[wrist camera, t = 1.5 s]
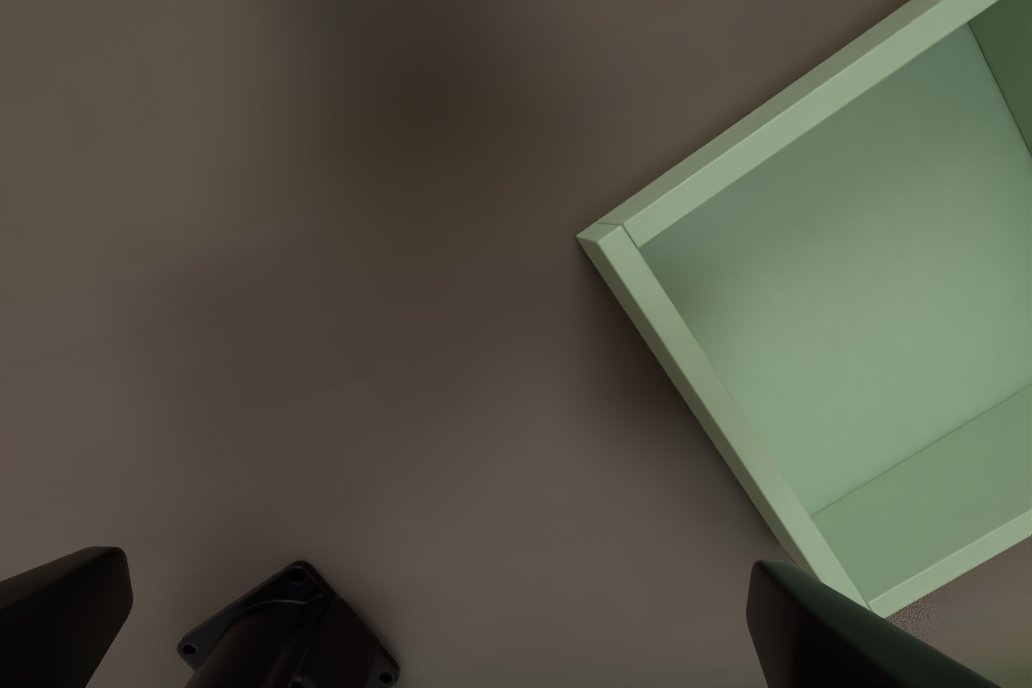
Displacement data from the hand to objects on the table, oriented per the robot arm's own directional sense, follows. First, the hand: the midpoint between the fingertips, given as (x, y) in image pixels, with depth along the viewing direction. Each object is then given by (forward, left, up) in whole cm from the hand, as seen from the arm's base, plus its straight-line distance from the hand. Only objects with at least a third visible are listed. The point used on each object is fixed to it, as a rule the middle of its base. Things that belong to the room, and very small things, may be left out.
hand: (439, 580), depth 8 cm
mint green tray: (+13, -6, -13) cm, 19 cm away
